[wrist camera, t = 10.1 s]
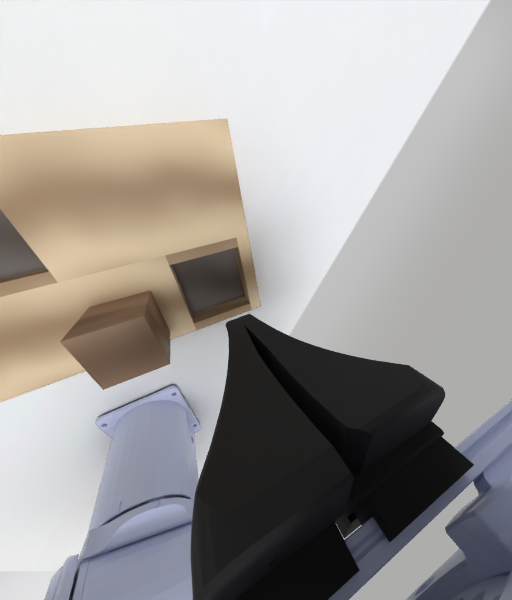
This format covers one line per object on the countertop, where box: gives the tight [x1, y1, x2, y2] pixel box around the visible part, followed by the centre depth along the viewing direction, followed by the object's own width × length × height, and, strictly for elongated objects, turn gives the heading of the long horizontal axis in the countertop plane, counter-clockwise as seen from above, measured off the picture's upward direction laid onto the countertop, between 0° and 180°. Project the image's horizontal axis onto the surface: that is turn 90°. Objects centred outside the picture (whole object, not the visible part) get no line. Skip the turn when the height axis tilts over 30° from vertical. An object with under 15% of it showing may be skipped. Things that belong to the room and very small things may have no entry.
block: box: [60, 291, 170, 390], centre depth 13 cm, size 4×4×4 cm
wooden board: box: [0, 119, 261, 402], centre depth 11 cm, size 14×28×4 cm, turn 100°
